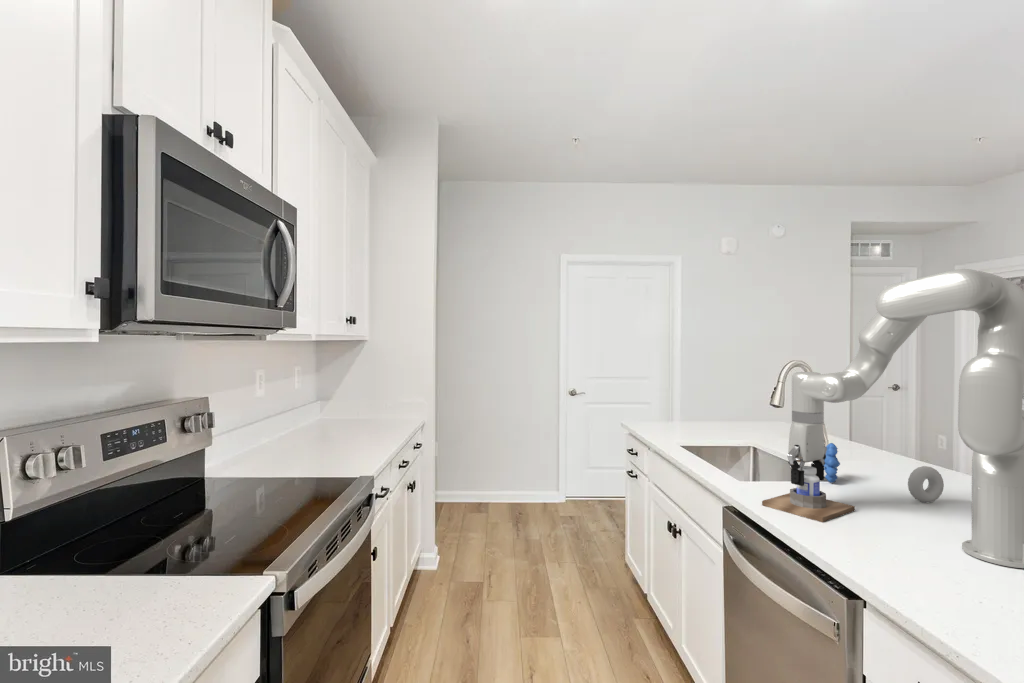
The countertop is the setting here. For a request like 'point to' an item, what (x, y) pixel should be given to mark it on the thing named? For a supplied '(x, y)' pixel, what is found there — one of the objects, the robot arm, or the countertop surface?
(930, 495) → the donut
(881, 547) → the countertop surface
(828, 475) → the grapes
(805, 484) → the pill bottle
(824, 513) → the base
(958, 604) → the countertop surface
